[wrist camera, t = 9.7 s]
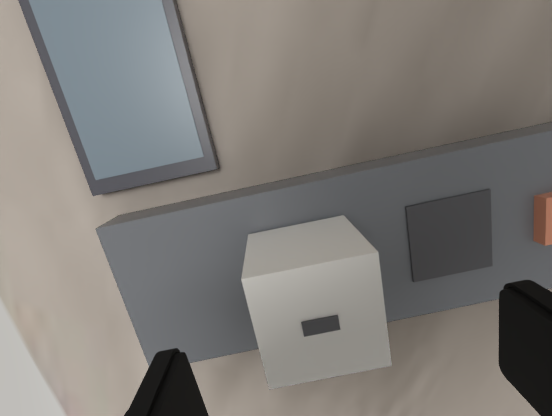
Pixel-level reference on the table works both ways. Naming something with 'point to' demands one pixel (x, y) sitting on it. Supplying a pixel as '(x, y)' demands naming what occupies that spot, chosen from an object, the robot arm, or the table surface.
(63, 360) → the table surface
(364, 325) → the charger plug
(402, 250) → the power strip
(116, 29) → the phone
